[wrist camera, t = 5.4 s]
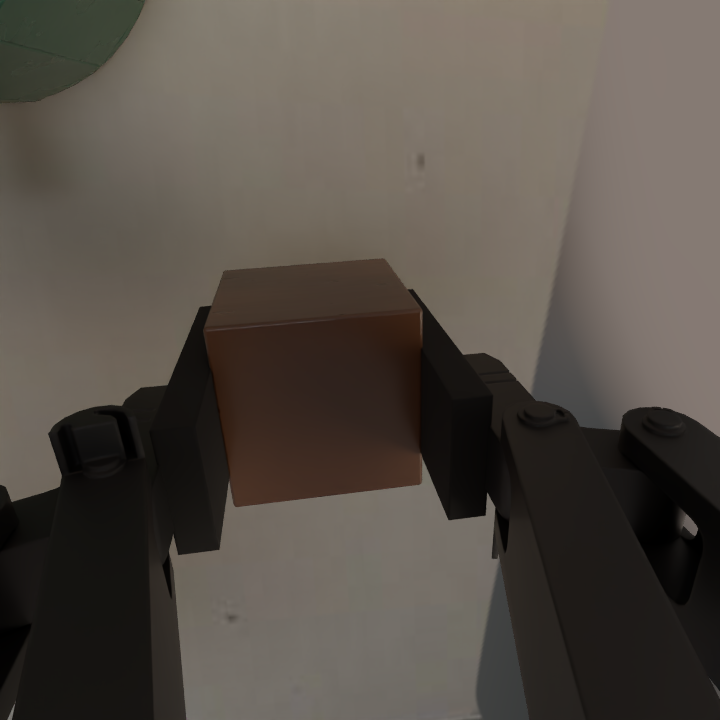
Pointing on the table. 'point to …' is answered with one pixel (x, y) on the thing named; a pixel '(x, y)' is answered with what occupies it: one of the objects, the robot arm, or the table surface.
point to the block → (316, 380)
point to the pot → (58, 43)
